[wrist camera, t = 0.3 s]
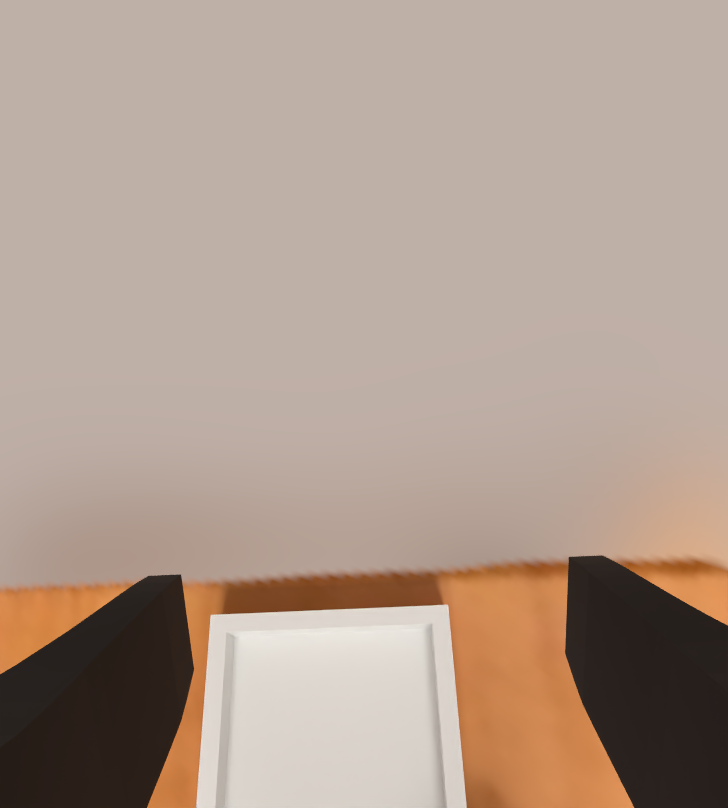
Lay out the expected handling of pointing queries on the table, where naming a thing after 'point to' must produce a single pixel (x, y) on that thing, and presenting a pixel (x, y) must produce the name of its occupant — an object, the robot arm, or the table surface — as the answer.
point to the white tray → (331, 711)
